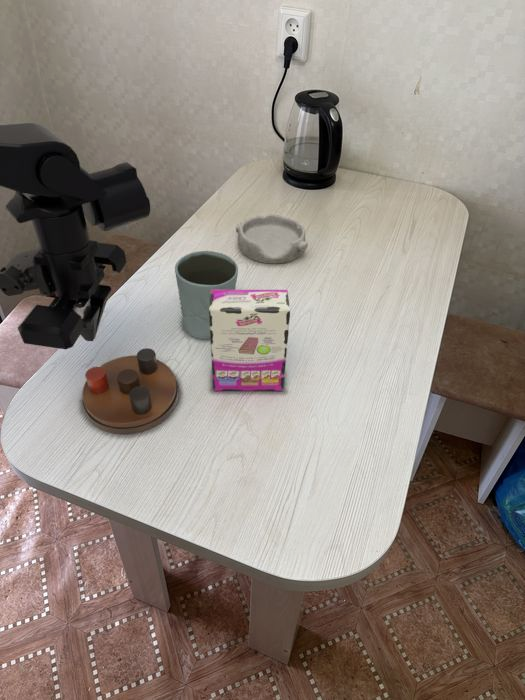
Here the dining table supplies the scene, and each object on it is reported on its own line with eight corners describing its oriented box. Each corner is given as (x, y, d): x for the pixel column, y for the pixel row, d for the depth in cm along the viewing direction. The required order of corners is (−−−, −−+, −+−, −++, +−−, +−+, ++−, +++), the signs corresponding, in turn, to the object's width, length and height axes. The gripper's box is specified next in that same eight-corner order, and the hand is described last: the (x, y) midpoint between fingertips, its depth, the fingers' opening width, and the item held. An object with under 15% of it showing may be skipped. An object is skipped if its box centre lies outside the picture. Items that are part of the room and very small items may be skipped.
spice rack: (172, 427, 71) (170, 409, 69) (74, 428, 71) (68, 410, 68) (179, 359, 81) (177, 341, 78) (93, 359, 80) (88, 341, 78)
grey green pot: (171, 314, 91) (165, 258, 83) (222, 299, 95) (221, 244, 87) (193, 349, 85) (189, 292, 77) (247, 332, 89) (248, 276, 80)
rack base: (86, 443, 70) (84, 438, 70) (82, 373, 80) (80, 367, 79) (186, 423, 74) (185, 418, 73) (170, 357, 83) (169, 352, 82)
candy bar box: (281, 369, 82) (289, 288, 71) (283, 392, 79) (292, 310, 68) (213, 368, 82) (210, 287, 71) (211, 391, 78) (208, 309, 67)
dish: (313, 260, 106) (316, 240, 102) (252, 272, 102) (252, 251, 98) (286, 226, 115) (287, 206, 112) (228, 236, 111) (228, 215, 108)
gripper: (37, 196, 66) (64, 291, 77) (-48, 278, 53) (-1, 379, 64) (118, 206, 65) (134, 301, 76) (52, 292, 52) (83, 392, 63)
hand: (90, 339), depth 70 cm, fingers closed
